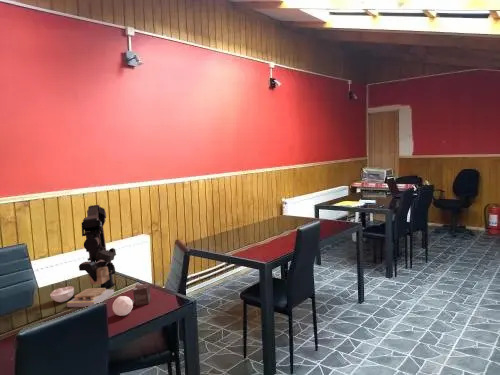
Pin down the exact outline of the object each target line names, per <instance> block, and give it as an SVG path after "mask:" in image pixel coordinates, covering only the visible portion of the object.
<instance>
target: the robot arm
mask: <svg viewBox="0 0 500 375" xmlns="http://www.w3.org/2000/svg"><path fill="white" fill-rule="evenodd" d="M87 207H88V209H87V210H86V215H87V216H86V217H84V218H83V219H82V222H81V237H85V240H84V242H83V247H84V249H85V250H86V251H85V252H87V253H88V256H89V257H88V258H87V261H83V262H81V263H80V264H79V265H78V270H79V271H80V272H81V271H85V272H86V273H87V274H88V276H89V275H90V277H91V278H92V279H93V281H94V282H97V272H96V270H97V269H98V267H108V272H109V280H108V281H106V282H105V283H103V284H99V285H100V286H99V287H97V288H106V289H111V288H112V287H114V286H115V285H117V283H116V282H114V278H113V275H115V274H116V267H115V265H114V264H113V263H114V262H112V261H114V259H115V256H117V254H116V253H117V252H116V248H114V247H112V248H110V249H107V244H106V239H105V231H104V225H105V223H106V219H107V212H106V209H105V208H104V207H101V206H100V204H94V205H89V206H87Z"/></svg>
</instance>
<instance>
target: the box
mask: <svg viewBox="0 0 500 375" xmlns="http://www.w3.org/2000/svg"><path fill="white" fill-rule="evenodd" d="M150 288H151V287H150V284H149V283H144V284H136V285H135V286H134V288H133V289H132V292H133V298H134V299H133V300H134V305H135V306H143V305H149V304H150V302H151V301H152V294H151V289H150Z"/></svg>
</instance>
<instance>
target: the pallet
mask: <svg viewBox="0 0 500 375" xmlns="http://www.w3.org/2000/svg"><path fill="white" fill-rule="evenodd" d="M106 289H107V288H98V287H94V288H93V287H92V288H86V289H84V290H82V291H81V292H79V293H78V294H76V295H75V294H74V295H73V297H74V298H75V299H76V300H79V299H81V298H82V297H83V300H86V299H88V298H89V297H91V300H94V299H95V298H97V297H98V296H100V295H101V294H103V293H104V292H106V291H105V290H106Z"/></svg>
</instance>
